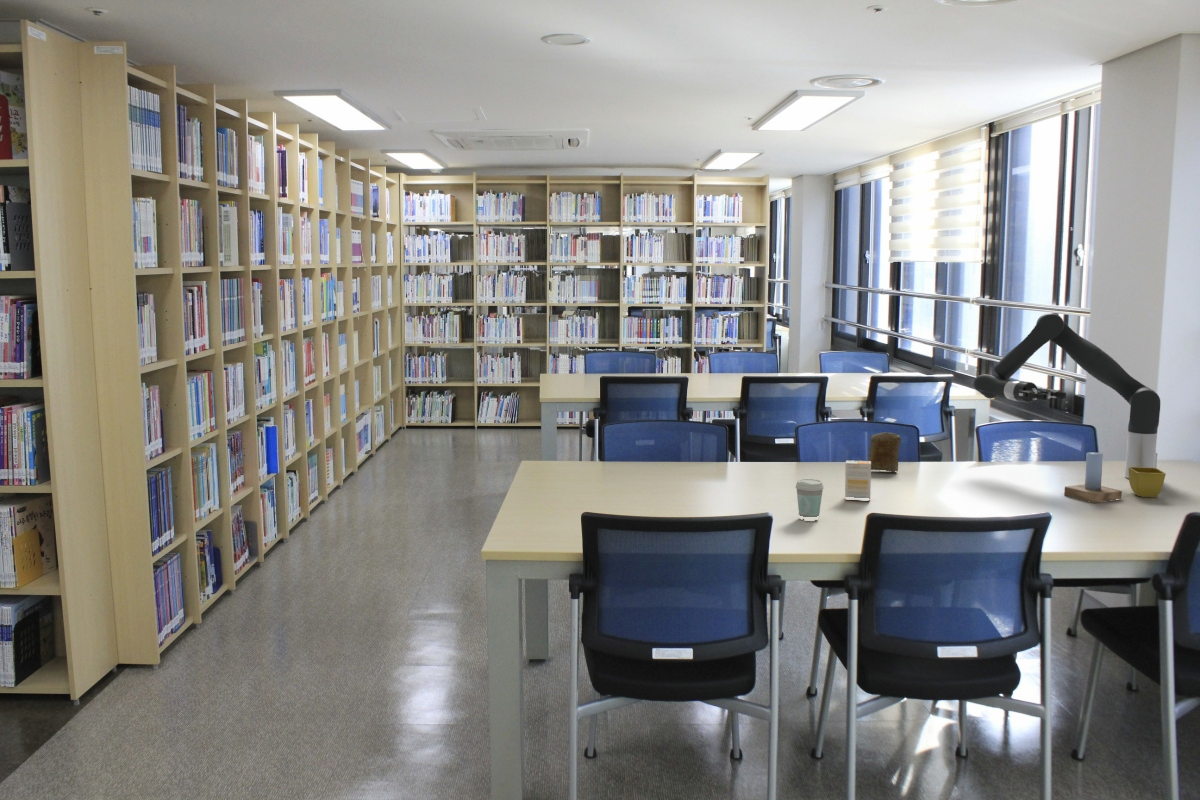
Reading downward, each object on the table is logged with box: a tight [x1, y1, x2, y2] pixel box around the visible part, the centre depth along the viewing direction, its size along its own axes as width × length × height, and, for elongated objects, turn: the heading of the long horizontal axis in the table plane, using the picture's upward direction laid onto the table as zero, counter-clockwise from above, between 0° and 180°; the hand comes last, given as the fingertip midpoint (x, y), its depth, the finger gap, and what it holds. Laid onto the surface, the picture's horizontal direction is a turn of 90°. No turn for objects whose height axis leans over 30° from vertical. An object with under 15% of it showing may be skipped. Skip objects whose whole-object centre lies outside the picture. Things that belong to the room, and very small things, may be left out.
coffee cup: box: [795, 478, 825, 517], centre depth 281 cm, size 8×9×12 cm
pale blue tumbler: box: [1084, 451, 1104, 490], centre depth 304 cm, size 5×5×12 cm
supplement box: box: [844, 459, 872, 500], centre depth 305 cm, size 8×5×13 cm, turn 71°
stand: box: [1063, 483, 1123, 504], centre depth 305 cm, size 12×12×3 cm
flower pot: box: [1128, 467, 1166, 498], centre depth 306 cm, size 9×9×9 cm
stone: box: [868, 431, 902, 473], centre depth 348 cm, size 11×9×15 cm
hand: (1056, 396), depth 320 cm, fingers open, 8 cm apart
